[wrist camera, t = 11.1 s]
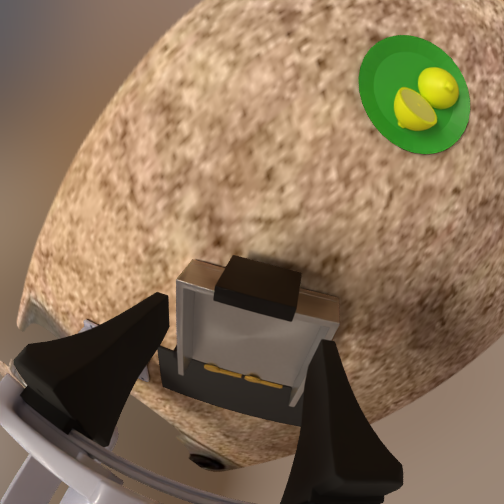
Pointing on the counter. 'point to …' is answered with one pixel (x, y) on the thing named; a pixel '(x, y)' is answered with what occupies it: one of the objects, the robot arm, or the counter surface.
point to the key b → (262, 382)
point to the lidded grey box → (252, 320)
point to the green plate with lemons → (414, 94)
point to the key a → (221, 371)
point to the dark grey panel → (229, 390)
